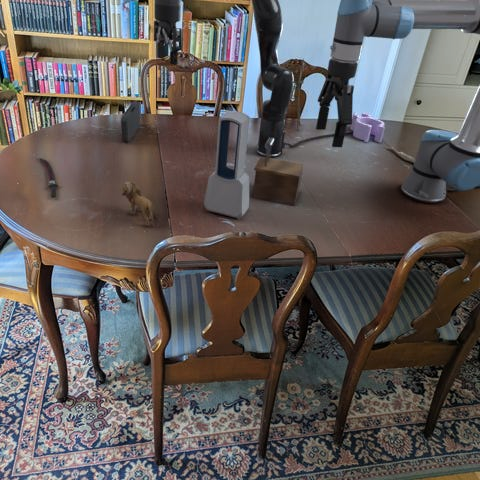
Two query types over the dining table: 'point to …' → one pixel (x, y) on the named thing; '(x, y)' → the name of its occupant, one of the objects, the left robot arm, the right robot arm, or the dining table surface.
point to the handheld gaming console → (130, 121)
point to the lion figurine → (137, 201)
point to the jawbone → (403, 155)
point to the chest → (276, 187)
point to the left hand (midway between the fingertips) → (167, 61)
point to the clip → (367, 127)
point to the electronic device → (229, 170)
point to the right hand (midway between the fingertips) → (328, 137)
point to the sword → (52, 181)
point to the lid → (277, 164)
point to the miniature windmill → (298, 94)
